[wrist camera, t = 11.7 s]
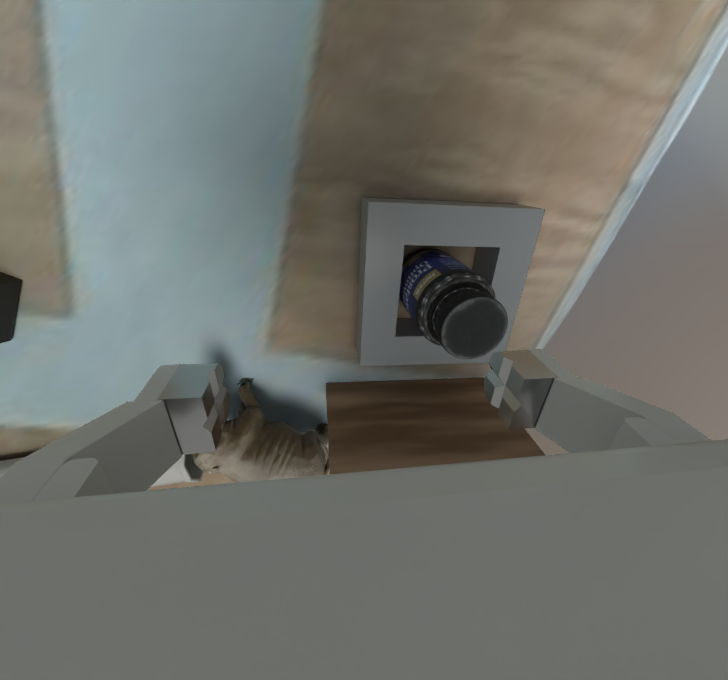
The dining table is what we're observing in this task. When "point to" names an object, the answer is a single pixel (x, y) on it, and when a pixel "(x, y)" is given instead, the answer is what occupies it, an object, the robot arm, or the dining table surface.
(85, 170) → the dining table surface
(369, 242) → the socket block
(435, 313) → the pill bottle
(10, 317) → the phone stand
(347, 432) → the wood grain plank
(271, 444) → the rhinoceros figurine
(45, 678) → the robot arm
